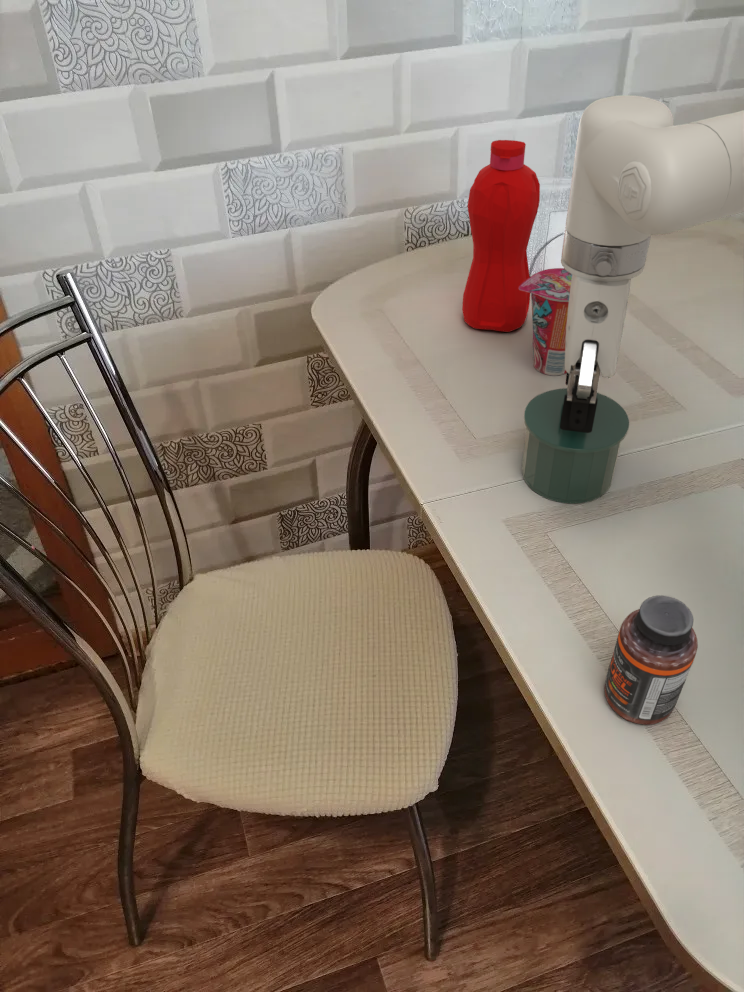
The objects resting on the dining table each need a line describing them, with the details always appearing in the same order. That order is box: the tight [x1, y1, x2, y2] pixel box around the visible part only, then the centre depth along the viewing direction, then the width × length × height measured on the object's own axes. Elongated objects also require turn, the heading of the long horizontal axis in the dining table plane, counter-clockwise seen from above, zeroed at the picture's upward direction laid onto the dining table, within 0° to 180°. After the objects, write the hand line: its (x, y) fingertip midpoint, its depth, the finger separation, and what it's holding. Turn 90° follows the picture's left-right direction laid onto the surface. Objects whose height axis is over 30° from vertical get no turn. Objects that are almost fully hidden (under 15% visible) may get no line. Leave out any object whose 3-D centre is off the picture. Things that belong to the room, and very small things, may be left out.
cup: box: [519, 267, 572, 376], centre depth 103 cm, size 9×8×12 cm
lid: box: [523, 367, 630, 453], centre depth 84 cm, size 11×11×7 cm
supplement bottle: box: [603, 594, 699, 726], centre depth 65 cm, size 6×6×11 cm
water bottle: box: [461, 139, 541, 333], centre depth 109 cm, size 9×11×25 cm
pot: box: [521, 427, 622, 504], centre depth 88 cm, size 10×10×8 cm
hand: (578, 406), depth 84 cm, fingers open, 7 cm apart
